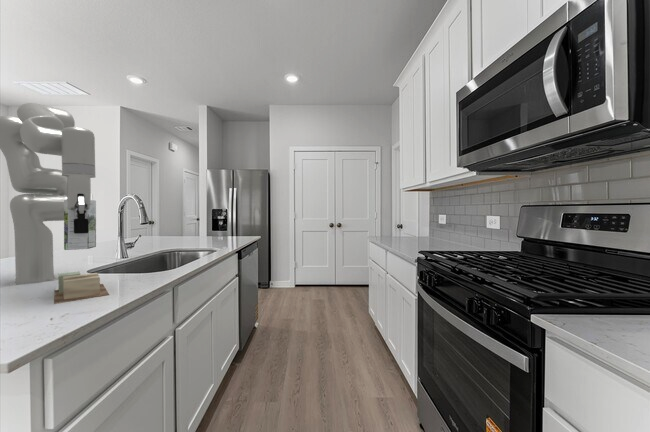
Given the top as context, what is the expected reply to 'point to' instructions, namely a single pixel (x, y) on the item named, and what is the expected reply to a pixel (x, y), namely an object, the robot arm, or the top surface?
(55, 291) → the board
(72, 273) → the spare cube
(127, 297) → the top surface
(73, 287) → the base block
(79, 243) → the syrup box
